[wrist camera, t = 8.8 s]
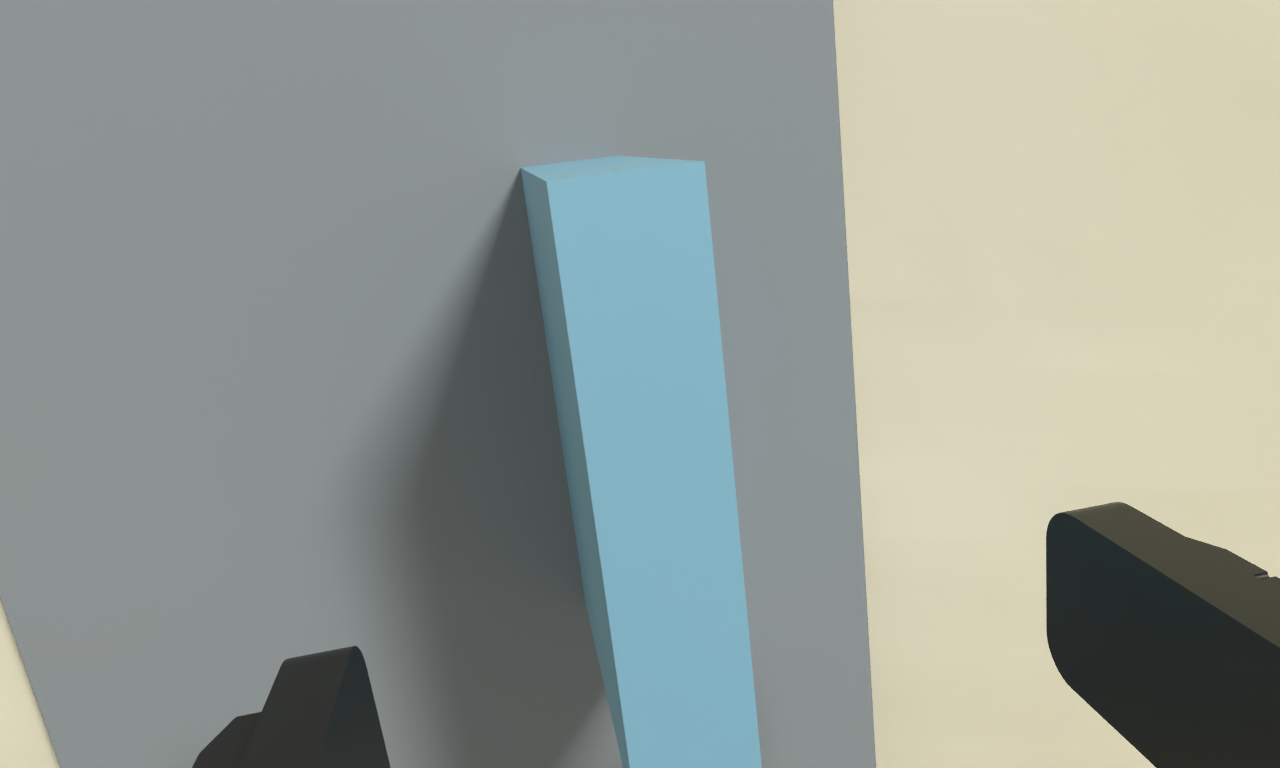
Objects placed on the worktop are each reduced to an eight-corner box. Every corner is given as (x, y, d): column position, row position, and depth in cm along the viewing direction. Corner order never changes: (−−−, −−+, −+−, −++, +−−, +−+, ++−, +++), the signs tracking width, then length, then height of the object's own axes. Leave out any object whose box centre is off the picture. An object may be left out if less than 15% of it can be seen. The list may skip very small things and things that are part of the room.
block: (617, 155, 15) (704, 160, 9) (670, 590, 17) (766, 816, 11) (520, 168, 14) (547, 182, 9) (585, 606, 17) (640, 845, 11)
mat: (810, -151, 15) (823, -163, 14) (867, 810, 20) (879, 829, 19) (-206, -64, 13) (-239, -75, 12) (156, 978, 18) (145, 1006, 17)
